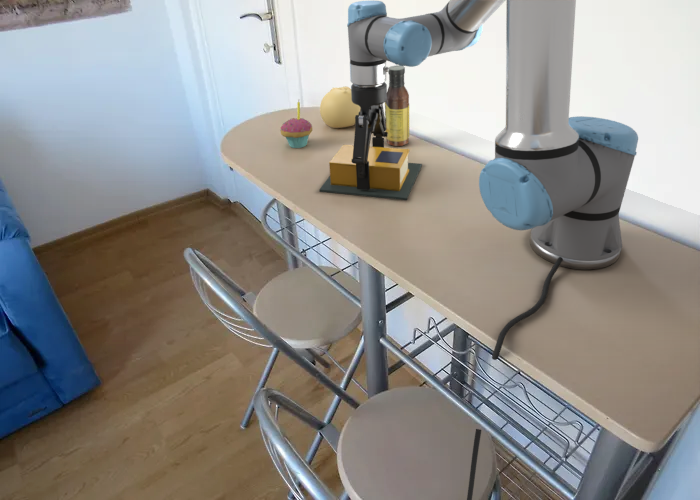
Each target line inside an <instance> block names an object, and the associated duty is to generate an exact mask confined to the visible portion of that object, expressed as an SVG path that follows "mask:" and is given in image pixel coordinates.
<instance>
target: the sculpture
mask: <svg viewBox="0 0 700 500" xmlns="http://www.w3.org/2000/svg"><path fill="white" fill-rule="evenodd" d="M360 109H361V108H360V106H359V105H356V104H354V103H353V102H352V98H351V87H349V86H341V87H332V88H331V89H330V90H329V91H328V92H327V93H325V95H323V97H322V99H321V101H320V105H319V113H320V116H321V119H322V121H323V122H324V124H325V125H326V126H328V127H330V128H334V129H335V128H337V129H339V128H340V129H341V128H347V127H352V126H355V116H356V115H359V112H360Z"/></svg>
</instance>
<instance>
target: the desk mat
mask: <svg viewBox="0 0 700 500" xmlns="http://www.w3.org/2000/svg"><path fill="white" fill-rule="evenodd" d="M422 167H423V163H417V162H408V169H409V172H408V175H407V177H406V179H405V181H404V183H403V185H402V187H401V189H400V191H393V190H382V189H372V188H370V189H369V190H362V189H357V187H350V186H340V185H331V179H330V175H329V176H328V177H327V179H326V180H325V181H324V183H323V184H322V185H321V187H320V188H319V189H318V190H319V192H320V193H328V194H329V193H330V194H338V195H339V194H340V195H348V196H349V195H350V196H360V197H371V198H378V199H379V198H380V199H389V200H390V199H391V200H401V201H407V200H408V199H409V195H410V194H411V193H412V192H411V191H412V189H413V187H414V185H415V182H416V181H417V178H418V176H419V174H420V171H421V169H422Z"/></svg>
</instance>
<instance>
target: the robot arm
mask: <svg viewBox="0 0 700 500" xmlns="http://www.w3.org/2000/svg"><path fill="white" fill-rule="evenodd" d="M505 2H506V13H505V14H506V20H505V22H506V23H505V24H506V26H505V27H506V29H505V30H506V32H505V33H506V34H505V36H506V37H505V41H506V42H505V49H506V50H505V126H504V128H503V129H502V130H501V131H500V132H499V133H498V134H497V135H496V136H495V138H494V158H493V159H490V160H489V161H488V162H487V163H486V164H485V165H484V167H483V168H481V171H480V173H479V177H478V187H479V188H478V189H479V192H480V198H481V199H482V201H483V204H484V206H485V208H486V209H487V210H488V211H489V212H490V213H491V215H492V217H493V218H494V219H495V220H496V221H497V222H499V223H500V224H501V225H503V226H504V227H506V228H509V229H512V230H515V231H528V230H530V235H529V245H530V247H531V249H532V250H533V251H534V252H535V253H536V255H538V256H539V257H541V258H542V259H544V260H546V261H547V262H549V263H552V264H553V265H552V267H551V269H550V270H549V272H548V274H547V275H546V278H545V280H544V283H543V286H542V291H541V294H540V297H539V299H538V301H537V302H536V304H534V305H533V306H532V307H531V308H529V309H528V310H526V311H524V312H523V313H521V314H518V315H517V316H515V317H513V318H512V319H510V320H509V321H507V323H506V324H505V325H504V326H503V328H502V329H501V330H500V332H499V334H498V336H497V340H496V342H495V346H494V349H493V352H492V355H491V359H492V360H494V361H496V360H498V359H499V356H500V353H501V350H502V347H503V344H504V341H505V337H506V336H507V333H508V332H509V331H510V330H511V329H512V328H513V327H514V326H515V325H517V324H518V323H520V322H522V321H523V320H525V319H527V318H530V317H531V316H532V315H534V314H536V312H537V311H539V310H540V309H541V307H542V306H543V305H544V303H546V302H545V301H546V299H547V297H548V292H549V288H550V284H551V281H552V279H553V277H554V276H555V274H556V272H557V271H558V269H559V267H563V268H568V269H574V270H590V271H591V270H598V269H604V268H606V267H609V266H612V265H613V264H615V263H616V262H617V261H618V259H619V258H620V254H621V252H622V248H623V240H622V231H621V222H620V211H621V207H622V204H623V201H624V196H625V194H626V189H627V186H628V182H629V180H630V179H629V178H630V175H631V171H632V167H633V164H634V161H635V157H636V156H637V153H638V152H637V148H638V142H639V135H638V132H636V130H635V129H634V128H632V127H631V126H629V125H627V124H624V123H622V122H618V121H616V120H612V119H606V118H602V117H594V116H583V115H582V116H579V115H578V116H577V115H576V116H571V117H570V106H571V105H570V104H571V89H572V74H573V73H572V71H573V53H574V39H575V38H574V37H575V24H576V23H575V22H576V21H575V20H576V8H577V7H576V3H577V0H449V1H448V2H447V3H446V4H445V6H444V7H443V8H442V9H441V10H439V11H436V12H431V13H425V14H420V15H415V16H409V17H403V18H396V17H389V16H388V12H387V6H386V4H385V3H384V1H382V0H360V1H354V2H352V3H350V5H349V6H348V8H347V36H348V37H347V38H348V53H349V81H350V83H351V85H350V89H351V98H352V102H353V103H354V104H356V105H359V106H360V108H361V109H360V112H359V115H356V116H355V124H354V126H355V127H354V137H353V145H354V148H353V159H352V163H354V164H356V175H357V189H362V190H369V189H370V179H369V161H368V153H369V147H384V148H385V138H386V137H387V136H388V132H386V129H387V128H386V122H385V109H384V104H385V102H386V100H387V91H388V85H387V83H386V81H387V73H388V71H389V67H390V66H387V62H389V63H392V64H394V65H395V66H396V65H400V66H404V67H409V68H413V67H414V68H415V67H418V66H420V65H421V64H422V63H423V62H424V61H425V60H427V59H428V57H432V56H436V55H441V54H446V53H451V52H457V51H463V50H465V49H467V48H470V47H473V46H474V45H476V44H477V43H478V42H479V40H480V39H481V35H482V33H483V30H484V28H483V27H484V23H485V22H486V21H487V20H488V19H489V18H491V16H493V14H494V13H495V12H496V11H497V10H499V8H500V7H501V6H502V5H503V4H504V3H505ZM372 135H373V137H372ZM371 141H372V144H371ZM371 145H372V146H371ZM481 437H482V429H479V428H475V433H474V440H473V446H472V455H471V462H470V469H469V470H470V471H469V480H468V487H467V496H466V500H473V496H474V495H473V494H474V487H475V479H476V478H475V477H476V471H477V465H478V464H477V463H478V457H479V449H480V444H481V443H480V442H481Z"/></svg>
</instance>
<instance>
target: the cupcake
mask: <svg viewBox="0 0 700 500" xmlns="http://www.w3.org/2000/svg"><path fill="white" fill-rule="evenodd" d="M297 100H298V102H297V103H296V104H297V105H296V106H297V109H296V110H297V112H296V113H297V118H295V117H293V118H290V119H288V120H287V121H284V122H282V125H281V126H280V135H281V136H282V137H283V138H285V140H286V141H287V143H288V145H289V147H290V148H293V149H301V148H304V147H306V146H307V145H308V141H309V137H310V135H311V133H312V132H313V124H312V123H311V122H310V121H309V120H308V119H305V118H304V117H303V118H301V102H300V99H297Z"/></svg>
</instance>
